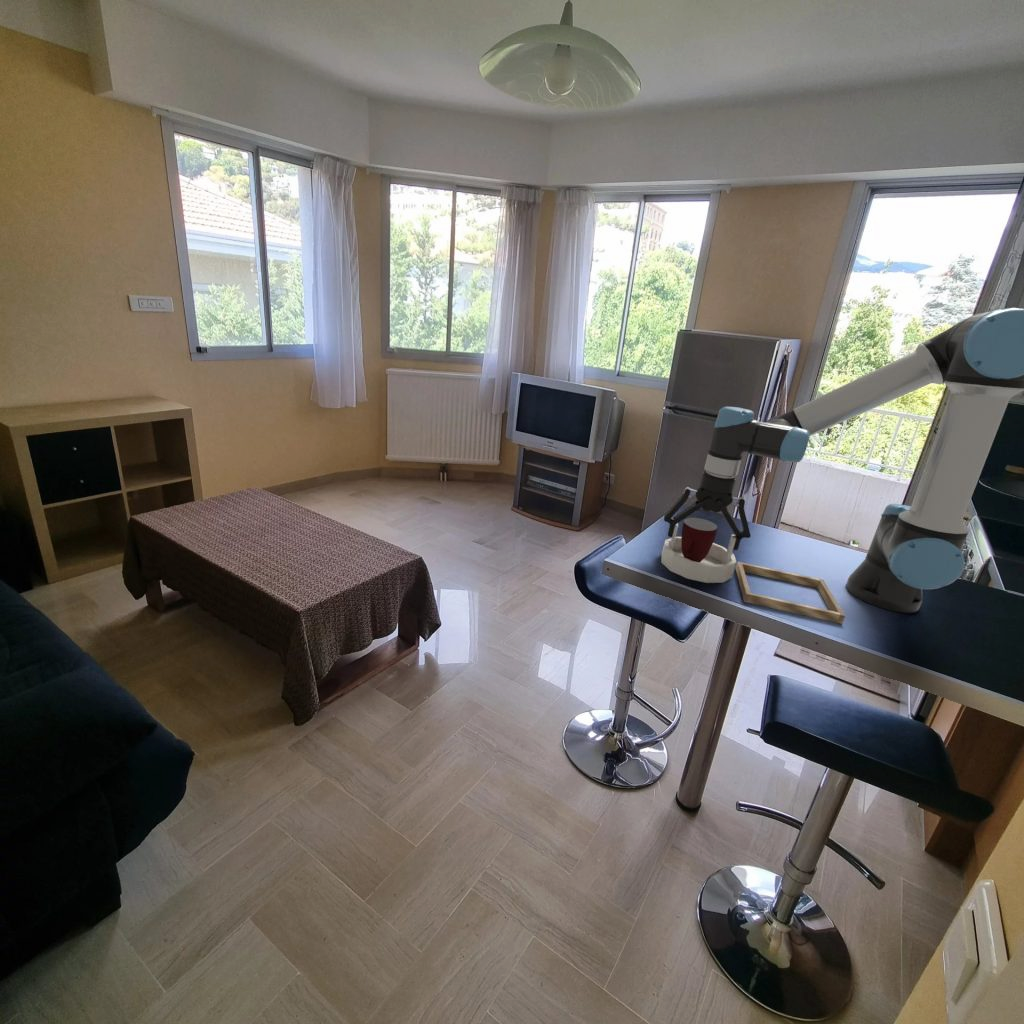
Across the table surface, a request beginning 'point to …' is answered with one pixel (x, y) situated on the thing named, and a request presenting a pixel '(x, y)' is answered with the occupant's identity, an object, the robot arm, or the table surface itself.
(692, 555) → the mug
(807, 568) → the table surface
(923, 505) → the robot arm
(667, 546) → the bowl
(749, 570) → the frame tray
